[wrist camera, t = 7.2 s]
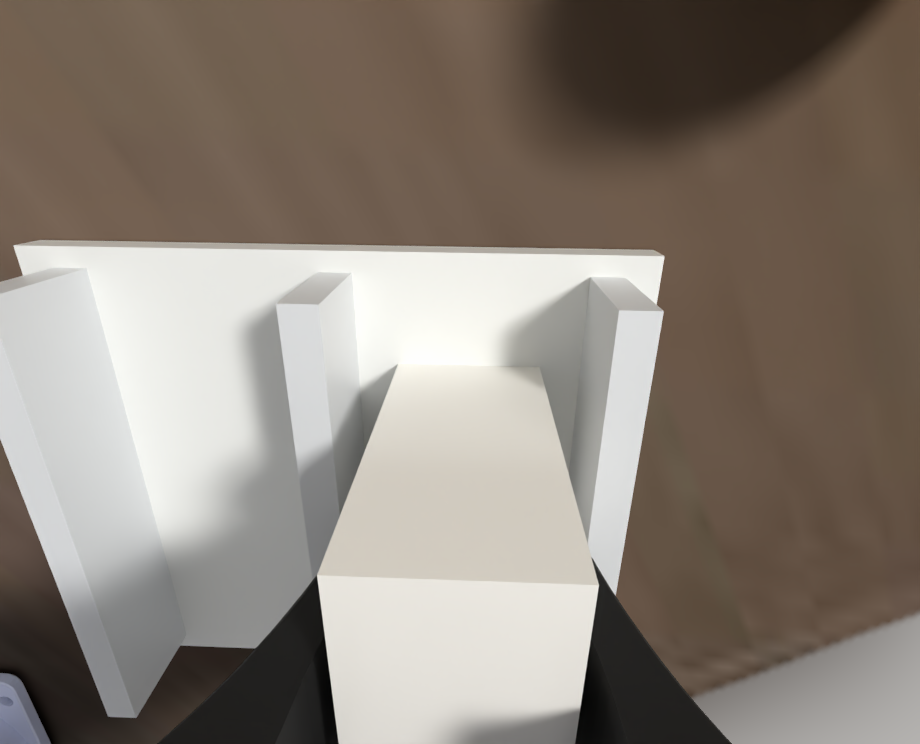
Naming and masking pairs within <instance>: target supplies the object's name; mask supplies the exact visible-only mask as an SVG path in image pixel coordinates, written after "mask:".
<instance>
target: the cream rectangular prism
mask: <svg viewBox="0 0 920 744" xmlns="http://www.w3.org/2000/svg"><path fill="white" fill-rule="evenodd" d="M317 579H318V587H319V595H320V602H321V610H322V618H323V626H324V634H325V641H326V649H327V657H328V665H329V673H330V680H331V688H332V696H333V704H334V712H335V719H336V727H337V735H338V743H339V744H575V740H576V734H577V727H578V720H579V714H580V707H581V701H582V694H583V687H584V681H585V674H586V668H587V661H588V654H589V648H590V641H591V634H592V628H593V621H594V615H595V608H596V601H597V595H598V588H599V584H598V580H597V576H596V573H595V569H594V565H593V562H592V558H591V554H590V551H589V547H588V543H587V540H586V536H585V532H584V528H583V525H582V521H581V517H580V514H579V510H578V506H577V503H576V499H575V495H574V492H573V488H572V484H571V481H570V477H569V473H568V470H567V466H566V462H565V459H564V455H563V451H562V448H561V444H560V440H559V437H558V433H557V429H556V426H555V422H554V418H553V415H552V411H551V407H550V404H549V400H548V396H547V393H546V389H545V385H544V382H543V378H542V374H541V370H540V367H514V366H471V365H427V364H398V366H397V369H396V371H395V374H394V376H393V379H392V382H391V384H390V387H389V389H388V392H387V395H386V397H385V400H384V402H383V405H382V408H381V410H380V413H379V415H378V418H377V421H376V423H375V426H374V428H373V431H372V434H371V436H370V439H369V441H368V444H367V447H366V449H365V452H364V454H363V457H362V460H361V462H360V465H359V467H358V470H357V473H356V475H355V478H354V480H353V483H352V486H351V488H350V491H349V493H348V496H347V499H346V501H345V504H344V506H343V509H342V512H341V514H340V517H339V519H338V522H337V525H336V527H335V530H334V533H333V535H332V538H331V540H330V543H329V546H328V548H327V551H326V553H325V556H324V559H323V561H322V564H321V566H320V569H319V572H318V574H317Z"/></svg>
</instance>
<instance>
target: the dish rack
mask: <svg viewBox="0 0 920 744" xmlns="http://www.w3.org/2000/svg"><path fill="white" fill-rule="evenodd" d="M13 246H14V249H15V252H16V255H17V258H18V261H19V264H20V267H21V270H22V273H23V276H21V277H17V278H13V279H10V280H6V281H2V282H0V439H1V442H2V445H3V447H4V450H5V452H6V455H7V457H8V460H9V463H10V465H11V468H12V470H13V473H14V475H15V478H16V481H17V483H18V486H19V488H20V491H21V493H22V496H23V499H24V501H25V504H26V506H27V509H28V512H29V514H30V517H31V519H32V522H33V524H34V527H35V530H36V532H37V535H38V537H39V540H40V542H41V545H42V548H43V550H44V553H45V555H46V558H47V560H48V563H49V566H50V568H51V571H52V573H53V576H54V578H55V581H56V584H57V586H58V589H59V591H60V594H61V597H62V599H63V602H64V604H65V607H66V609H67V612H68V615H69V617H70V620H71V622H72V625H73V627H74V630H75V633H76V635H77V638H78V640H79V643H80V645H81V648H82V651H83V653H84V656H85V658H86V661H87V664H88V666H89V669H90V671H91V674H92V676H93V679H94V682H95V684H96V687H97V689H98V692H99V694H100V697H101V700H102V702H103V705H104V707H105V710H106V712H107V715H108V717H126V718H137V716H138V714H139V713H140V711H141V709H142V708H143V706H144V704H145V703H146V701H147V699H148V698H149V696H150V695H151V693H152V691H153V690H154V688H155V686H156V685H157V683H158V681H159V680H160V678H161V676H162V675H163V673H164V671H165V670H166V668H167V666H168V665H169V663H170V662H171V660H172V658H173V657H174V655H175V653H176V652H177V650H178V648H179V647H180V646H205V647H231V648H256V647H257V646H258V645H259V644H260V643H261V642H262V641H263V640H264V638H265V637H266V636H267V635H268V634H269V633H270V632H271V631H272V630H273V628H274V627H275V626H276V625H277V624H278V622H279V621H280V620H281V619H282V618H283V616H284V615H285V614H286V613H287V612H288V610H289V609H290V608H291V607H292V606H293V604H294V603H295V602H296V601H297V599H298V598H299V597H300V596H301V594H302V593H303V592H304V591H305V589H306V588H307V587H308V586H309V584H310V583H311V582H312V580H313V579H314V578H315V576H316V575H317V574H318V572H319V569H320V566H321V564H322V561H323V559H324V556H325V553H326V551H327V548H328V546H329V543H330V540H331V538H332V535H333V533H334V530H335V527H336V525H337V522H338V519H339V517H340V514H341V512H342V509H343V506H344V504H345V501H346V499H347V496H348V493H349V491H350V488H351V486H352V483H353V480H354V478H355V475H356V473H357V470H358V467H359V465H360V462H361V460H362V457H363V454H364V452H365V449H366V447H367V444H368V441H369V439H370V436H371V434H372V431H373V428H374V426H375V423H376V421H377V418H378V415H379V413H380V410H381V408H382V405H383V402H384V400H385V397H386V395H387V392H388V389H389V387H390V384H391V382H392V379H393V376H394V374H395V371H396V369H397V366H398V364H427V365H471V366H514V367H540V370H541V374H542V378H543V382H544V385H545V389H546V393H547V396H548V400H549V404H550V407H551V411H552V415H553V418H554V422H555V426H556V429H557V433H558V437H559V440H560V444H561V448H562V451H563V455H564V459H565V462H566V466H567V470H568V473H569V477H570V481H571V484H572V488H573V492H574V495H575V499H576V503H577V506H578V510H579V514H580V517H581V521H582V525H583V528H584V532H585V536H586V540H587V543H588V547H589V551H590V554H591V557H592V558H593V560H594V562H595V563H596V565H597V567H598V568H599V570H600V572H601V574H602V575H603V577H604V578H605V580H606V582H607V583H608V585H609V587H610V588H611V590H612V591H613V593H614V594H615V596H616V590H617V584H618V578H619V572H620V566H621V560H622V554H623V548H624V542H625V537H626V531H627V525H628V519H629V513H630V507H631V501H632V495H633V489H634V483H635V478H636V472H637V466H638V460H639V454H640V448H641V442H642V436H643V430H644V424H645V419H646V413H647V407H648V401H649V395H650V389H651V383H652V377H653V371H654V365H655V360H656V354H657V348H658V342H659V336H660V330H661V324H662V318H663V312H664V311H663V310H662V309H661V308H659V307H658V306H657V299H658V292H659V286H660V280H661V274H662V268H663V262H664V256H663V255H661V254H660V253H658V252H656V251H655V250H628V249H566V248H505V247H443V246H381V245H319V244H257V243H195V242H133V241H71V240H38V241H33V242H28V243H23V244H18V245H13Z"/></svg>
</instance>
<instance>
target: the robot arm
mask: <svg viewBox="0 0 920 744" xmlns="http://www.w3.org/2000/svg"><path fill="white" fill-rule="evenodd" d="M591 558H592V557H591ZM592 562H593V565H594V569H595V573H596V576H597V580H598V584H599V588H598V595H597V601H596V608H595V615H594V621H593V628H592V634H591V641H590V648H589V654H588V661H587V668H586V674H585V681H584V687H583V694H582V701H581V707H580V714H579V720H578V727H577V734H576V740H575V744H732V743H731V742H730V741H729V740H728V739H727V738H726V737H725V736H724V735H723V734H722V733H721V732H720V730H719V729H718V728H717V727H716V726H715V725H714V724H713V723H712V722H711V720H710V719H709V718H708V717H707V716H706V715H705V714H704V712H703V711H702V710H701V709H700V708H699V707H698V705H697V704H696V703H695V702H694V701H693V700H692V698H691V697H690V696H689V695H688V694H687V692H686V691H685V690H684V689H683V688H682V686H681V685H680V684H679V683H678V681H677V680H676V679H675V678H674V676H673V675H672V674H671V673H670V671H669V670H668V669H667V667H666V666H665V665H664V664H663V662H662V661H661V660H660V658H659V657H658V656H657V654H656V653H655V652H654V650H653V649H652V648H651V646H650V645H649V644H648V642H647V641H646V639H645V638H644V637H643V635H642V634H641V632H640V631H639V630H638V628H637V627H636V625H635V624H634V623H633V621H632V620H631V618H630V617H629V615H628V614H627V613H626V611H625V610H624V608H623V607H622V605H621V604H620V602H619V600H618V599H617V597H616V596H615V594H614V593H613V591H612V590H611V588H610V587H609V585H608V583H607V582H606V580H605V578H604V577H603V575H602V574H601V572H600V570H599V568H598V567H597V565H596V563H595V562H594V560H593V558H592ZM0 744H51V742H50V740H49V738H48V736H47V734H46V732H45V729H44V727H43V725H42V723H41V721H40V719H39V717H38V714H37V712H36V710H35V708H34V706H33V704H32V702H31V699H30V697H29V695H28V693H27V691H26V689H25V687H24V685H23V682H22V681H21V680H20V679H19V678H18V677H17V676H15V675H12V674H8V673H0ZM157 744H339V743H338V735H337V727H336V719H335V712H334V704H333V696H332V688H331V680H330V673H329V665H328V657H327V649H326V641H325V634H324V626H323V618H322V610H321V602H320V595H319V587H318V579H317V575H316V576H315V578H314V579H313V580H312V582H311V583H310V584H309V586H308V587H307V588H306V589H305V591H304V592H303V593H302V594H301V596H300V597H299V598H298V599H297V601H296V602H295V603H294V604H293V606H292V607H291V608H290V609H289V610H288V612H287V613H286V614H285V615H284V616H283V618H282V619H281V620H280V621H279V622H278V624H277V625H276V626H275V627H274V628H273V630H272V631H271V632H270V633H269V634H268V635H267V636H266V637H265V638H264V640H263V641H262V642H261V643H260V644H259V645H258V646H257V647H256V648H255V649H254V651H253V652H252V653H251V654H250V655H249V656H248V657H247V658H246V659H245V660H244V662H243V663H242V664H241V665H240V666H239V667H238V668H237V669H236V670H235V671H234V672H233V673H232V674H231V675H230V676H229V677H228V678H227V679H226V680H225V681H224V682H223V683H222V684H221V685H220V686H219V687H218V688H217V689H216V690H215V691H214V692H213V693H212V694H211V695H210V696H209V697H208V698H207V699H206V700H205V701H204V702H203V703H202V704H201V705H200V706H199V707H197V708H196V709H195V710H194V711H193V712H192V713H191V714H190V715H189V716H188V717H187V718H185V719H184V720H183V721H182V722H181V723H180V724H179V725H178V726H177V727H175V728H174V729H173V730H172V731H171V732H170V733H169V734H168V735H166V736H165V737H164V738H163V739H162V740H161V741H160V742H159V743H157Z"/></svg>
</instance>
